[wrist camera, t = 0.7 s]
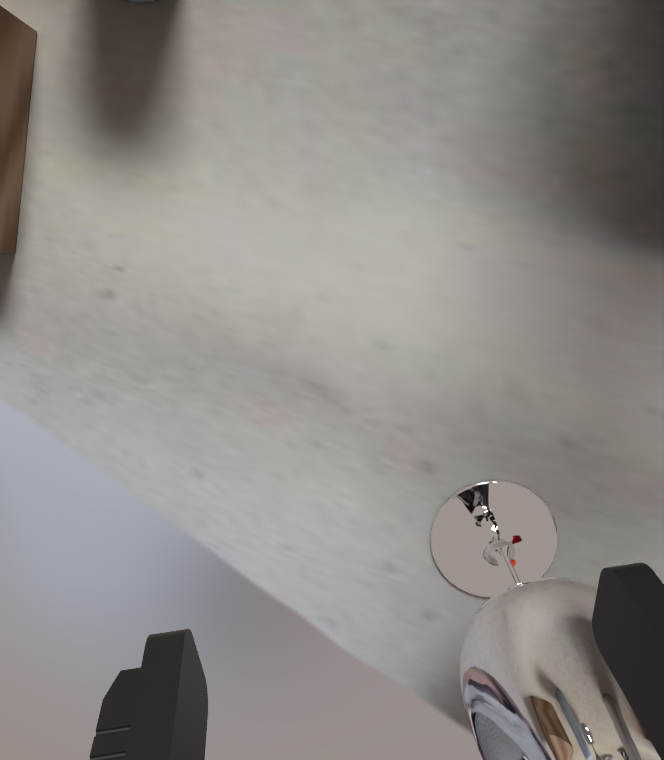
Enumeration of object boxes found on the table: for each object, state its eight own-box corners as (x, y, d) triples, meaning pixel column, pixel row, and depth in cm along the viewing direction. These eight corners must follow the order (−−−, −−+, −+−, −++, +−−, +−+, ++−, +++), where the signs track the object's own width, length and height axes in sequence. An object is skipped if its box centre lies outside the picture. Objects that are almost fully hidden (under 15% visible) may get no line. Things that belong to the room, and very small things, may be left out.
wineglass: (429, 598, 37) (498, 964, 18) (426, 478, 36) (497, 732, 16) (557, 596, 37) (775, 971, 17) (560, 474, 35) (799, 731, 16)
